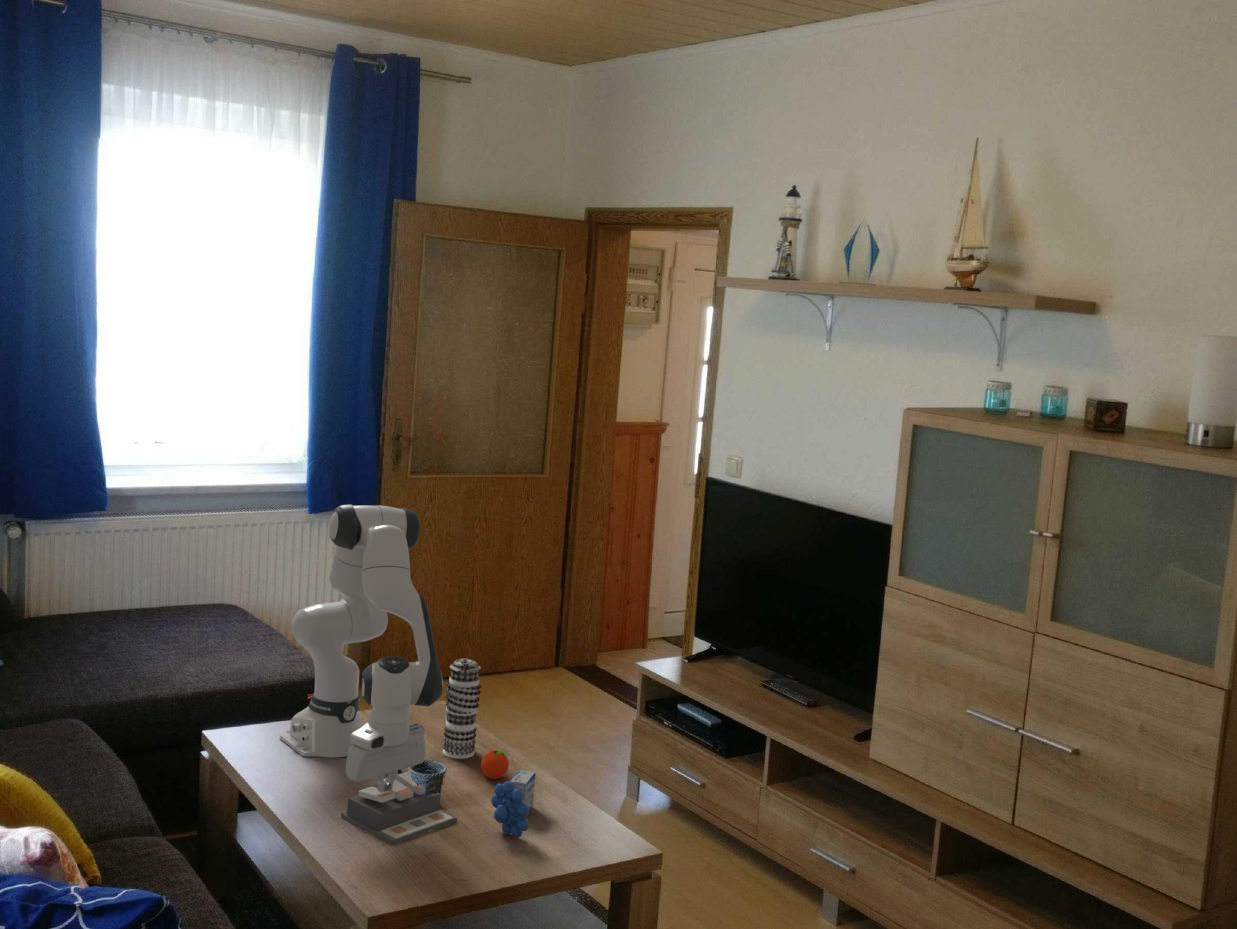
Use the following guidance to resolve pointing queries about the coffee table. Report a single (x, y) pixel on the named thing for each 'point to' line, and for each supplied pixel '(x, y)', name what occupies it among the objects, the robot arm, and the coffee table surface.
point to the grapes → (510, 809)
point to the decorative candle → (461, 709)
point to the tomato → (495, 764)
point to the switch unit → (397, 816)
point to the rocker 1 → (376, 794)
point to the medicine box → (525, 786)
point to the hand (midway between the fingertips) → (385, 790)
